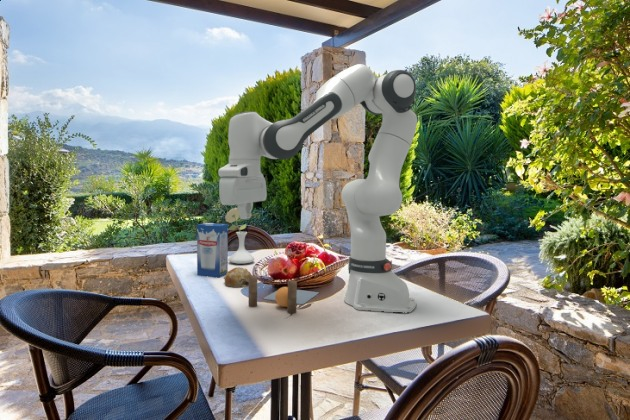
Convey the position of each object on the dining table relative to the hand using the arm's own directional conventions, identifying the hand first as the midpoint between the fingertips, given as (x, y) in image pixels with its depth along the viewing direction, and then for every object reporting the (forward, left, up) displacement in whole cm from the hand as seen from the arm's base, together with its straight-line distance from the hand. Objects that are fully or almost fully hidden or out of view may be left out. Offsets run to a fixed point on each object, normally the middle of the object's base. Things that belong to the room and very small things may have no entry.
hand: (245, 218), depth 116 cm
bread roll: (+18, -24, -28) cm, 41 cm away
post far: (+1, -5, -27) cm, 28 cm away
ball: (-9, -9, -24) cm, 27 cm away
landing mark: (-6, -19, -27) cm, 34 cm away
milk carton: (+34, -31, -27) cm, 54 cm away
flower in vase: (+36, -54, -27) cm, 71 cm away
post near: (-13, -5, -27) cm, 30 cm away
